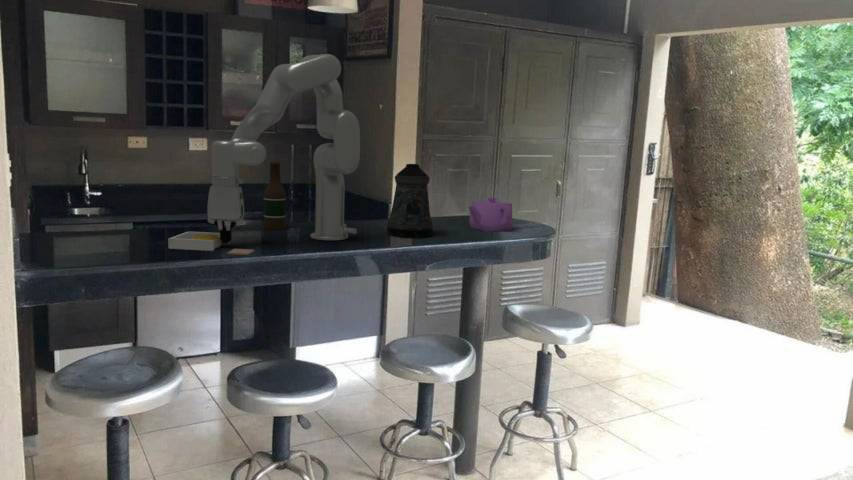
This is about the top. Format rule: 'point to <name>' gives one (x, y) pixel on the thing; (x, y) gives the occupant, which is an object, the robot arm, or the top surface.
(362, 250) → the top surface
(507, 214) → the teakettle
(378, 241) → the top surface
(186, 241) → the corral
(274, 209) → the beer bottle
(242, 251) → the tile
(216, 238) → the bread roll
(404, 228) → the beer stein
